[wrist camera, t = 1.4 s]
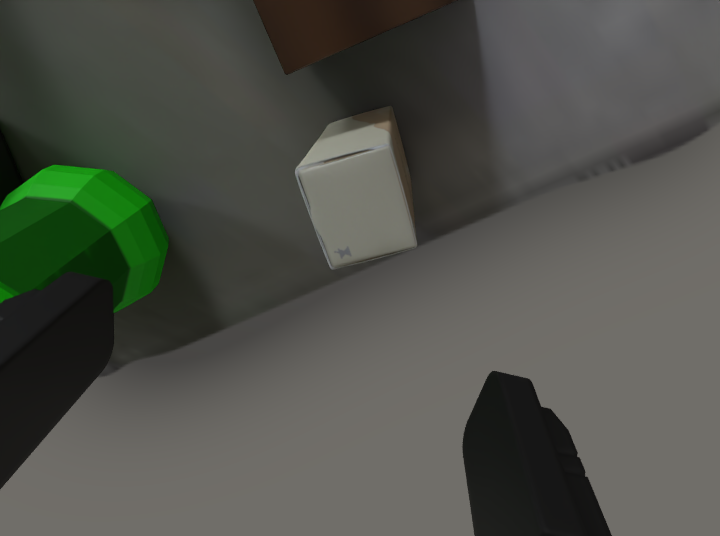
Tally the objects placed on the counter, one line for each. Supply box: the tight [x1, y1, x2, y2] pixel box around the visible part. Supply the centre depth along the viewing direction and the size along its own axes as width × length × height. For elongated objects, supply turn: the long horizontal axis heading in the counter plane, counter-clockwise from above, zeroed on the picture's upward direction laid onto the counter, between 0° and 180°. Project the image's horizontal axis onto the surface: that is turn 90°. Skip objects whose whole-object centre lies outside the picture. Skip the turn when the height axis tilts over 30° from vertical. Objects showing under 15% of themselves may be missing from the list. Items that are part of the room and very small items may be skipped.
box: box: [295, 106, 417, 269], centre depth 26 cm, size 5×4×11 cm
